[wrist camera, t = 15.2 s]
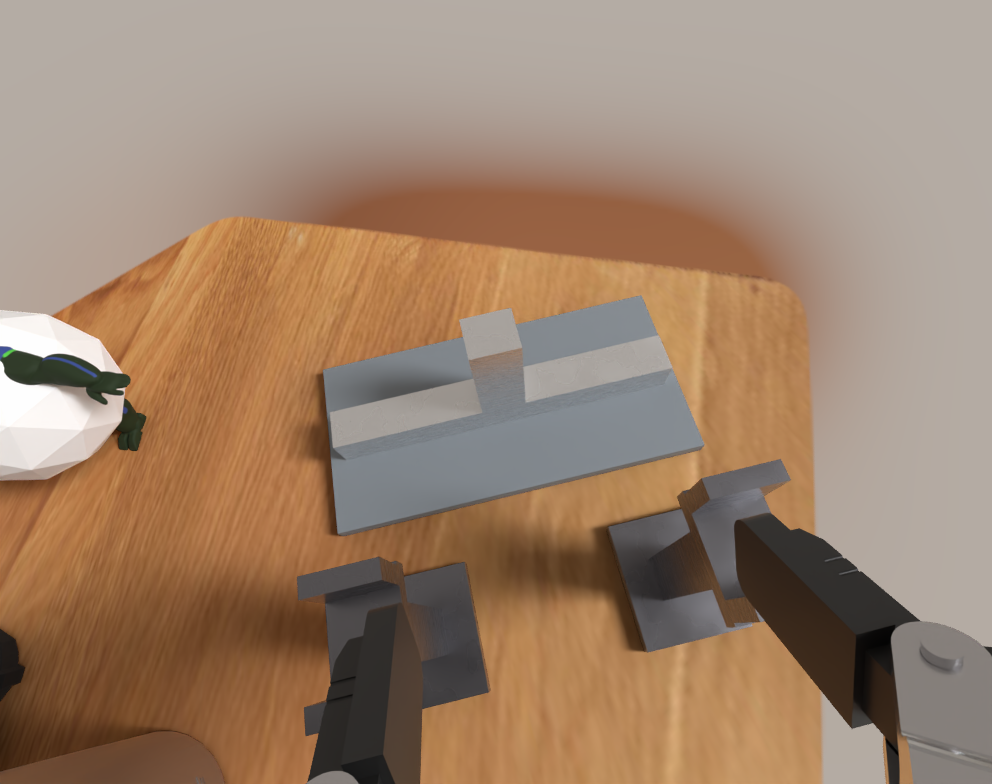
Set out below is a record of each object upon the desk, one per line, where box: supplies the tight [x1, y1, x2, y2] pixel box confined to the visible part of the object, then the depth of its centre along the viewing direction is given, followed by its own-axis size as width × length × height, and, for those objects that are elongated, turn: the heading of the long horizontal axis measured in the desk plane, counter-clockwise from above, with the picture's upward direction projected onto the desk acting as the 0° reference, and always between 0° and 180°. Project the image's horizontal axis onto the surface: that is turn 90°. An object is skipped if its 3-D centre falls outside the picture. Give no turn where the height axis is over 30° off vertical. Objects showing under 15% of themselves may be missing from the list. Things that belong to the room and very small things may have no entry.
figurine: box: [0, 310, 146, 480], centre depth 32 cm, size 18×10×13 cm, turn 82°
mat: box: [323, 296, 704, 536], centre depth 36 cm, size 24×12×1 cm, turn 103°
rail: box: [330, 308, 672, 460], centre depth 31 cm, size 22×2×10 cm, turn 103°
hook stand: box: [297, 459, 791, 736], centre depth 24 cm, size 21×7×14 cm, turn 103°
